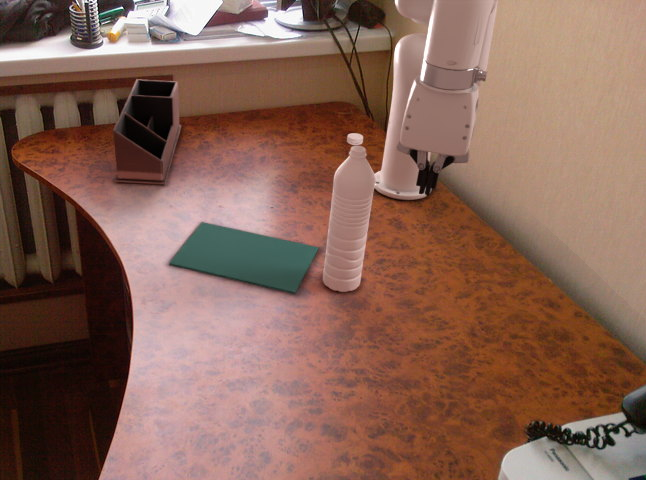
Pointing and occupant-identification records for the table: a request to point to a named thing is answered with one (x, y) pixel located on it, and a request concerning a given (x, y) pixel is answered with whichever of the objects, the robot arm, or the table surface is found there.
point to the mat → (246, 257)
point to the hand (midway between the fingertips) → (425, 190)
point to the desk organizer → (147, 132)
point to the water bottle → (349, 219)
